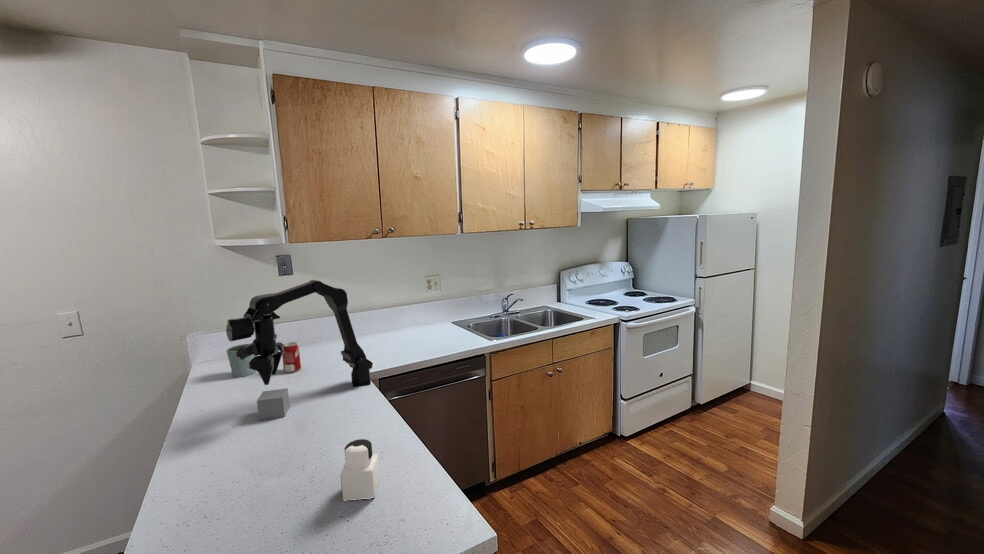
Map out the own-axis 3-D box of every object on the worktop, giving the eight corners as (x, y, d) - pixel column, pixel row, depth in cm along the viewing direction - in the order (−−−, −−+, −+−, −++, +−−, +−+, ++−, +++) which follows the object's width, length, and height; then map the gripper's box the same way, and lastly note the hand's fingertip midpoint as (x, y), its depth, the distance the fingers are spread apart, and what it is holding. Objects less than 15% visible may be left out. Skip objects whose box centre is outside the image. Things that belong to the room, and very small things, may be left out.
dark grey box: (289, 406, 146) (287, 388, 145) (284, 416, 139) (282, 397, 138) (265, 410, 144) (263, 391, 143) (259, 420, 137) (256, 400, 136)
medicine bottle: (350, 483, 102) (346, 436, 101) (380, 480, 103) (376, 434, 101) (342, 502, 95) (337, 453, 94) (374, 499, 96) (370, 450, 94)
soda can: (294, 373, 178) (291, 346, 176) (280, 373, 180) (277, 346, 178) (304, 368, 185) (301, 341, 183) (291, 367, 186) (288, 341, 184)
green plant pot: (262, 371, 183) (259, 345, 181) (240, 380, 173) (236, 352, 172) (247, 368, 187) (243, 342, 185) (224, 377, 178) (220, 349, 176)
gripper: (246, 329, 145) (252, 372, 147) (227, 344, 127) (233, 394, 129) (281, 326, 147) (286, 368, 149) (268, 340, 129) (273, 389, 132)
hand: (270, 379), depth 140 cm, fingers open, 9 cm apart
